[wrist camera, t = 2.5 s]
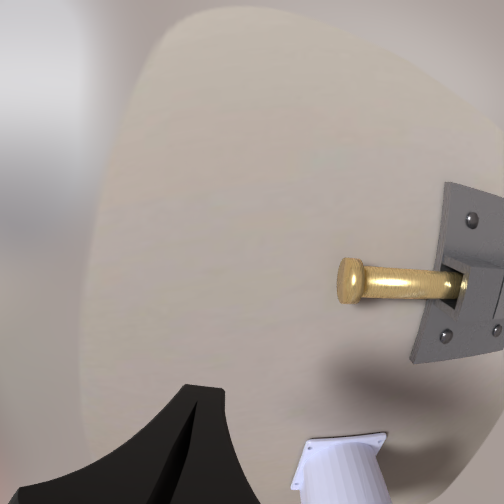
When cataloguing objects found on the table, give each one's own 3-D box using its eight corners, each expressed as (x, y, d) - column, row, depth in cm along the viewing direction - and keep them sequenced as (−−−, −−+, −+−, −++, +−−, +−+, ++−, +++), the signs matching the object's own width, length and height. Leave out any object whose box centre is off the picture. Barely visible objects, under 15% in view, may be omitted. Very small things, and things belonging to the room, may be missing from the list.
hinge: (498, 346, 19) (520, 364, 15) (409, 358, 19) (431, 387, 15) (529, 208, 16) (559, 214, 12) (444, 182, 16) (480, 182, 12)
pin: (484, 297, 17) (503, 308, 14) (334, 294, 17) (345, 310, 15) (491, 266, 16) (512, 274, 14) (340, 253, 17) (353, 263, 14)
